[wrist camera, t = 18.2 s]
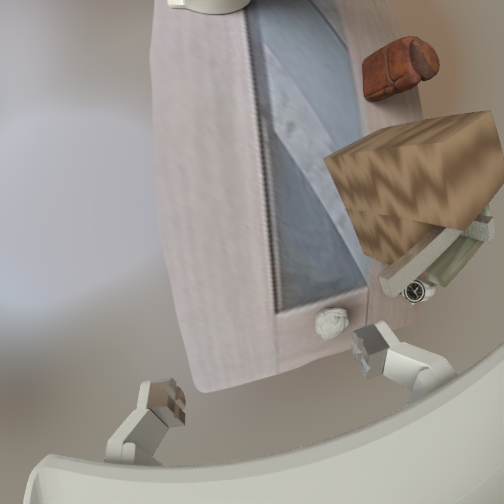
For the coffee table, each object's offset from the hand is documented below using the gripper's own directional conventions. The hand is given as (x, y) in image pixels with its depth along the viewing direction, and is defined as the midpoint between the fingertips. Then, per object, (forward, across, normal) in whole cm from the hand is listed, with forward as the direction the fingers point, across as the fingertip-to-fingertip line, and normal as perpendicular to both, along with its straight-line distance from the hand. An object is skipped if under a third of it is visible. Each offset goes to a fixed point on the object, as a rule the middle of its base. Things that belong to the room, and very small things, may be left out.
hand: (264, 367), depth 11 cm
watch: (+34, -30, +27) cm, 53 cm away
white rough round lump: (+31, -11, +28) cm, 43 cm away
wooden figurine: (+43, -34, -14) cm, 57 cm away
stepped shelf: (+37, -27, +8) cm, 47 cm away
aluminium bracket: (+19, -24, +11) cm, 33 cm away
